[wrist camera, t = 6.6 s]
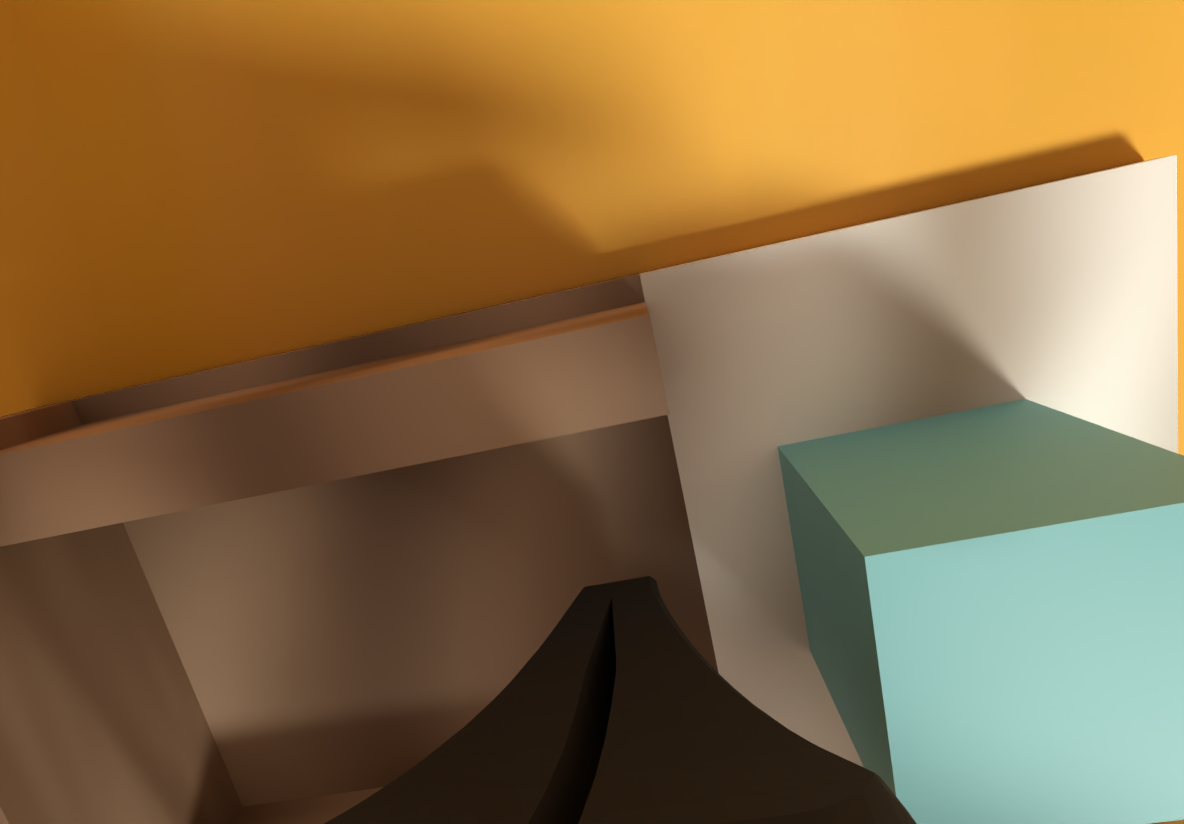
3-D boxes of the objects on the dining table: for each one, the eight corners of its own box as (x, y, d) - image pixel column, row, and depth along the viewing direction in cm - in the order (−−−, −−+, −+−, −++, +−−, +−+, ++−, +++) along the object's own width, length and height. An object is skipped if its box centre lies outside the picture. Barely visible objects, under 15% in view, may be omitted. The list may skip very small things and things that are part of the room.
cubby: (1147, 160, 11) (1507, 94, 6) (1155, 735, 14) (1412, 969, 9) (32, 408, 13) (-271, 486, 9) (229, 858, 16) (74, 1092, 11)
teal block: (1025, 398, 11) (1272, 488, 7) (1040, 615, 12) (1263, 809, 8) (777, 446, 12) (865, 556, 8) (810, 651, 13) (904, 853, 9)
